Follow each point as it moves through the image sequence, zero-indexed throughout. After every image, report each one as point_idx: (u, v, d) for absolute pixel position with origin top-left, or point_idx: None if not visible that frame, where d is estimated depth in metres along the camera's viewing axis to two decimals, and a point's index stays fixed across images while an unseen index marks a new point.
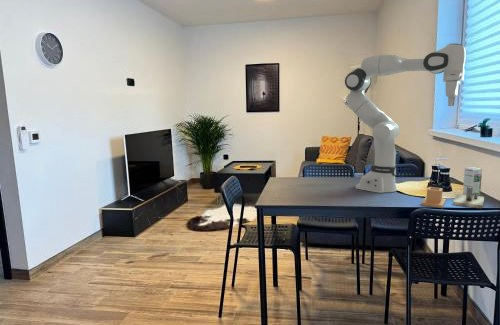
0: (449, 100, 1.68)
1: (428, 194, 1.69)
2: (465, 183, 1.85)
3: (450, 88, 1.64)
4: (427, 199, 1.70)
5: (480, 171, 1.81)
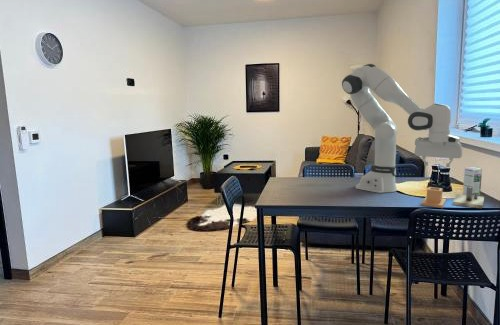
0: (451, 161, 1.64)
1: (428, 194, 1.69)
2: (465, 183, 1.85)
3: (461, 150, 1.61)
4: (427, 199, 1.70)
5: (480, 171, 1.81)
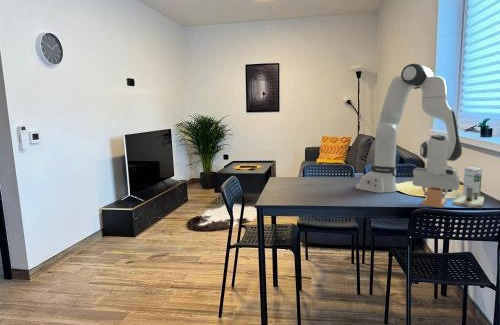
0: (446, 192, 1.67)
1: (428, 194, 1.69)
2: (465, 183, 1.85)
3: None
4: (427, 199, 1.70)
5: (480, 171, 1.81)
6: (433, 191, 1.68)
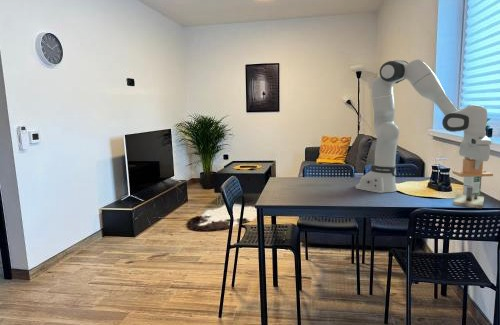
0: (477, 163, 1.62)
1: (463, 164, 1.70)
2: (465, 183, 1.85)
3: (484, 153, 1.56)
4: (463, 169, 1.70)
5: None
6: (465, 161, 1.67)
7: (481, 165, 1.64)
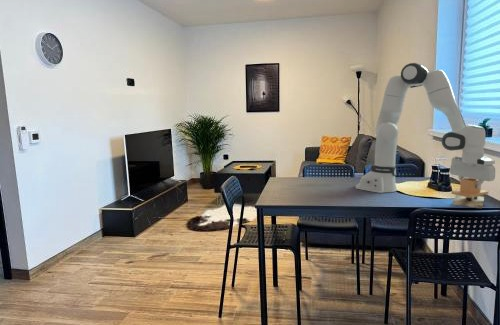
0: (480, 183, 1.64)
1: (462, 184, 1.70)
2: None
3: (492, 173, 1.59)
4: (461, 189, 1.70)
5: None
6: (466, 181, 1.68)
7: None
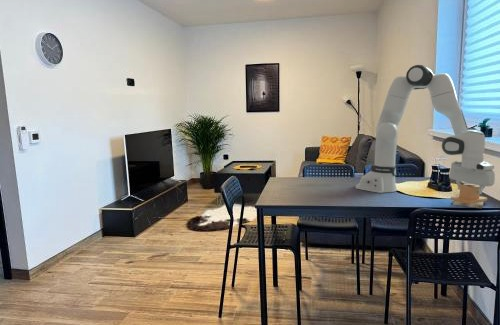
0: (482, 188, 1.63)
1: (461, 190, 1.70)
2: (465, 183, 1.85)
3: (492, 178, 1.59)
4: (460, 195, 1.71)
5: None
6: (465, 187, 1.68)
7: None
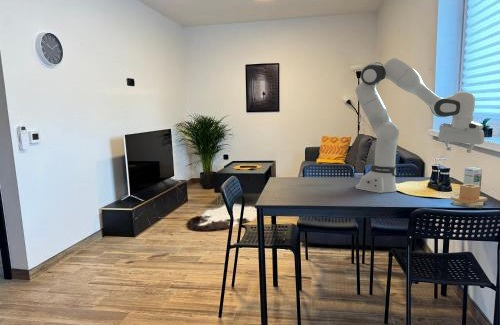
0: (472, 147, 1.71)
1: (461, 190, 1.70)
2: (465, 183, 1.85)
3: (482, 136, 1.68)
4: (460, 195, 1.71)
5: (480, 171, 1.81)
6: (465, 187, 1.68)
7: (479, 190, 1.68)
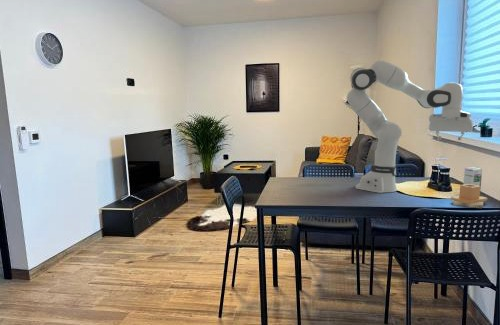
0: (462, 135, 1.81)
1: (461, 190, 1.70)
2: (465, 183, 1.85)
3: (472, 124, 1.78)
4: (460, 195, 1.71)
5: (480, 171, 1.81)
6: (465, 187, 1.68)
7: (479, 190, 1.68)
